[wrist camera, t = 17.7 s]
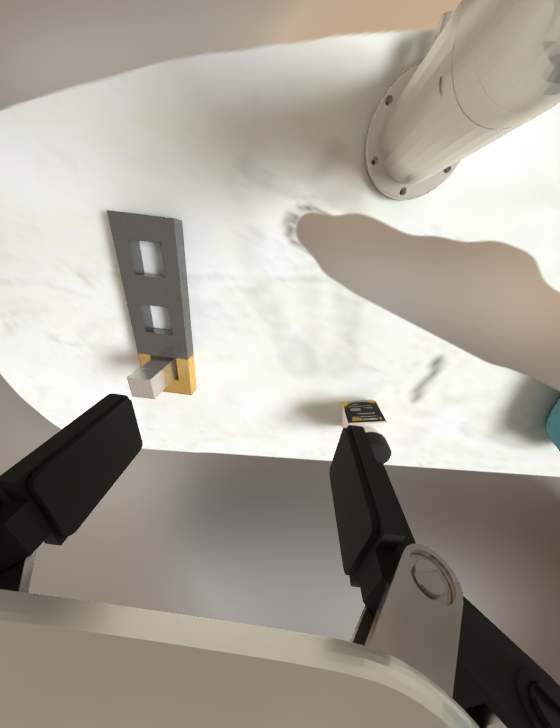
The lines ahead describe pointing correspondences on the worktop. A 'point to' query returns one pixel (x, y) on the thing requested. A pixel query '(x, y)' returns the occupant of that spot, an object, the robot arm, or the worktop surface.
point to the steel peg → (153, 377)
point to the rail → (156, 292)
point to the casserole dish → (554, 425)
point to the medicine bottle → (368, 425)
